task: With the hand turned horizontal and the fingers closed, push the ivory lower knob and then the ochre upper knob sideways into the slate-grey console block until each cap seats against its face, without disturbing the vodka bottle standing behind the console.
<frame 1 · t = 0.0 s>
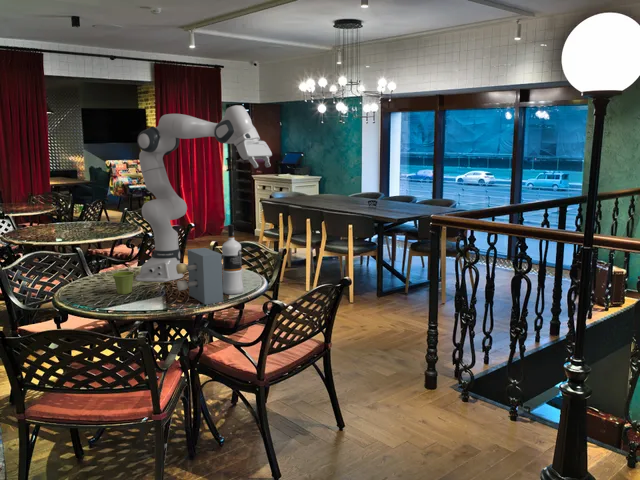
hand: (262, 167, 253), 54 cm above the table, tool tilted 30°, fingers open, 8 cm apart
plant pot: (124, 293, 257), on the table
knob upper: (193, 267, 242), point 14 cm above the table, slide at 0.0 cm
console: (196, 299, 245), on the table
vodka: (233, 292, 256), on the table
knob lower: (194, 283, 243), point 7 cm above the table, slide at 0.0 cm
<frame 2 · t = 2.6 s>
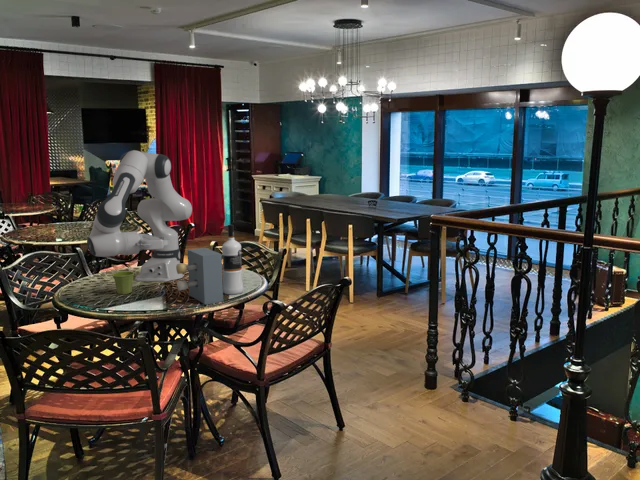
hand: (167, 240, 234), 26 cm above the table, tool horizontal, fingers open, 8 cm apart
nothing on the table moved.
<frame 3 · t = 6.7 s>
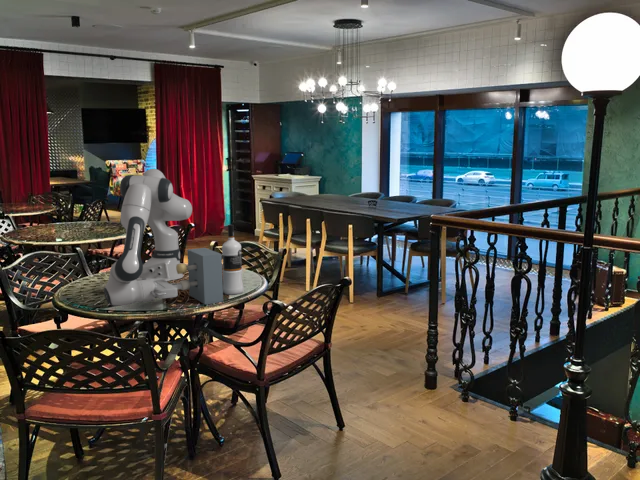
hand: (181, 285, 240), 7 cm above the table, tool horizontal, fingers closed, pressing on knob lower
knob lower: (197, 283, 244), point 7 cm above the table, slide at 1.1 cm, touching gripper
everything else where it was.
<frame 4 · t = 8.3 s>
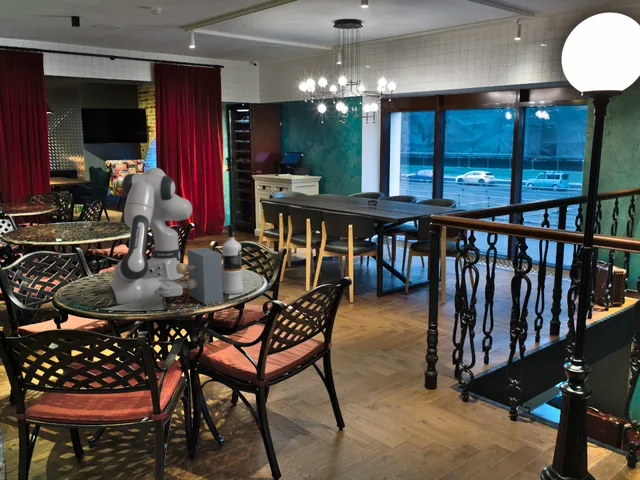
hand: (185, 284, 241), 7 cm above the table, tool horizontal, fingers closed
knob lower: (204, 282, 245), point 7 cm above the table, slide at 4.5 cm, touching console
everything else where it was.
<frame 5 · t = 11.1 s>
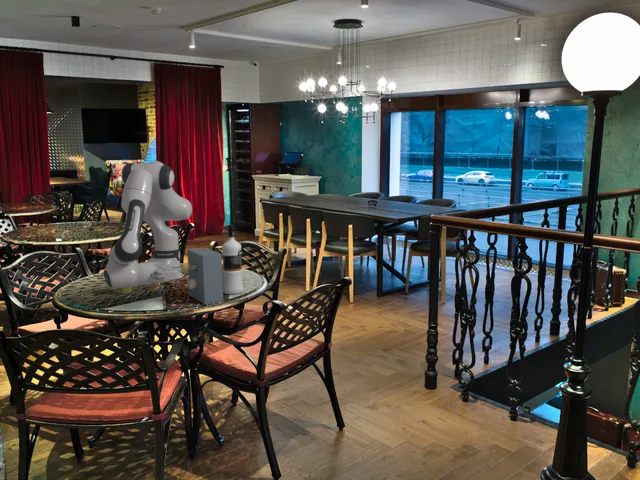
hand: (181, 269, 239), 14 cm above the table, tool horizontal, fingers closed, pressing on knob upper
knob upper: (197, 266, 243), point 14 cm above the table, slide at 1.6 cm, touching gripper
everything else where it was.
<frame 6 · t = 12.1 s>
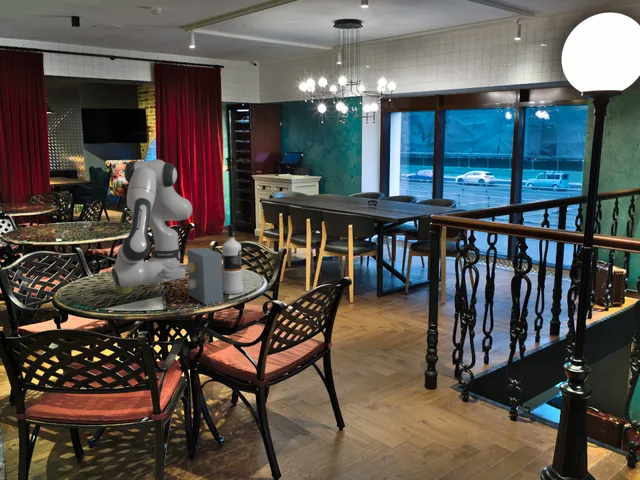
hand: (188, 268, 241), 14 cm above the table, tool horizontal, fingers closed, pressing on knob upper
knob upper: (204, 265, 244), point 14 cm above the table, slide at 4.5 cm, touching console, gripper
everything else where it was.
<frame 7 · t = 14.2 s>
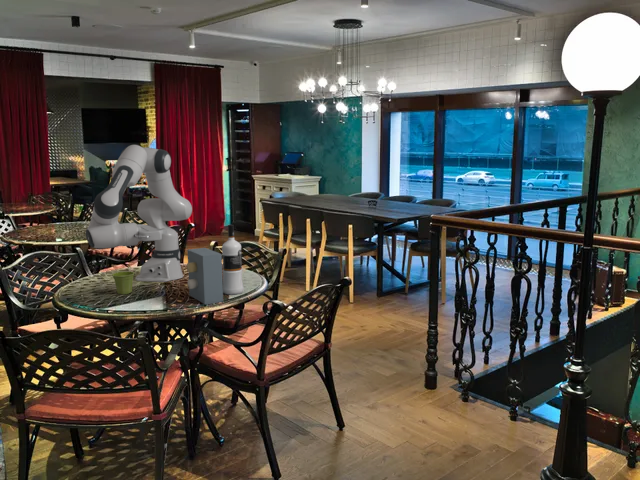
hand: (166, 230, 235), 30 cm above the table, tool horizontal, fingers closed
knob upper: (204, 265, 244), point 14 cm above the table, slide at 4.5 cm, touching console
everything else where it was.
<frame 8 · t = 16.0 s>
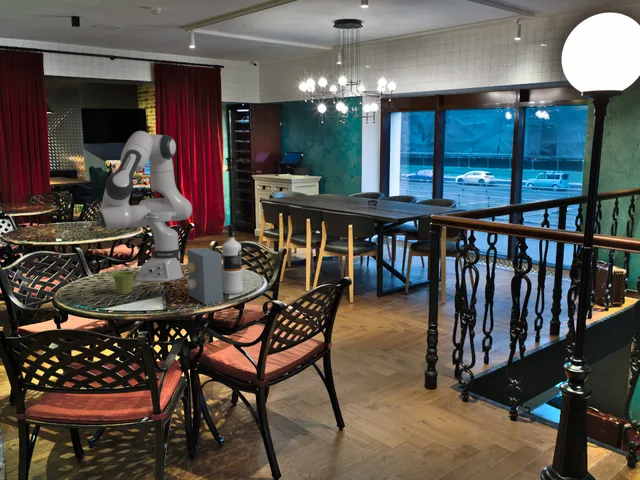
hand: (174, 213, 242), 36 cm above the table, tool horizontal, fingers closed
nothing on the table moved.
at the end: knob lower slide at 4.5 cm; knob upper slide at 4.5 cm; vodka tilted 0° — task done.
